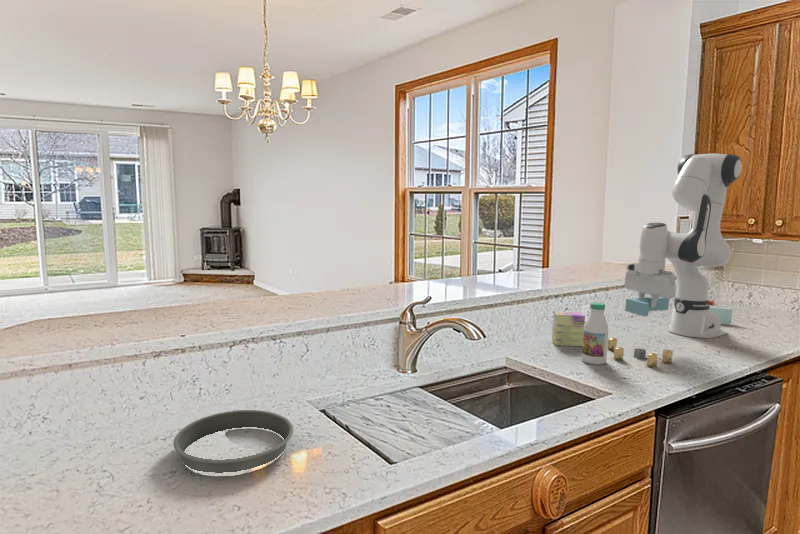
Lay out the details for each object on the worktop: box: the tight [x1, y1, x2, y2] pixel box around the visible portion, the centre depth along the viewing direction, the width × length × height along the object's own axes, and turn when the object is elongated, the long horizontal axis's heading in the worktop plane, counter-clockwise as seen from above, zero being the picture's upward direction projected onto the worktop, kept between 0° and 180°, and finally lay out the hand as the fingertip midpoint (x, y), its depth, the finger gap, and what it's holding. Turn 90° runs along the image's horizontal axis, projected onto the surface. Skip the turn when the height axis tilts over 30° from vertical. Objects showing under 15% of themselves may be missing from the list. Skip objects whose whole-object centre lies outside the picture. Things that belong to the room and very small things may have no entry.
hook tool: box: [624, 296, 670, 317], centre depth 189 cm, size 18×8×4 cm, turn 111°
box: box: [551, 311, 586, 348], centre depth 197 cm, size 10×6×12 cm, turn 84°
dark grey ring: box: [173, 409, 294, 473], centre depth 114 cm, size 25×25×4 cm
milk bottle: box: [581, 301, 609, 366], centre depth 176 cm, size 8×8×20 cm
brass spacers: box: [607, 337, 674, 369], centre depth 183 cm, size 16×22×4 cm
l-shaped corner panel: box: [710, 306, 733, 326], centre depth 238 cm, size 12×12×8 cm
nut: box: [633, 348, 647, 359], centre depth 184 cm, size 4×4×2 cm
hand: (647, 305), depth 192 cm, fingers closed on hook tool, 2 cm apart
